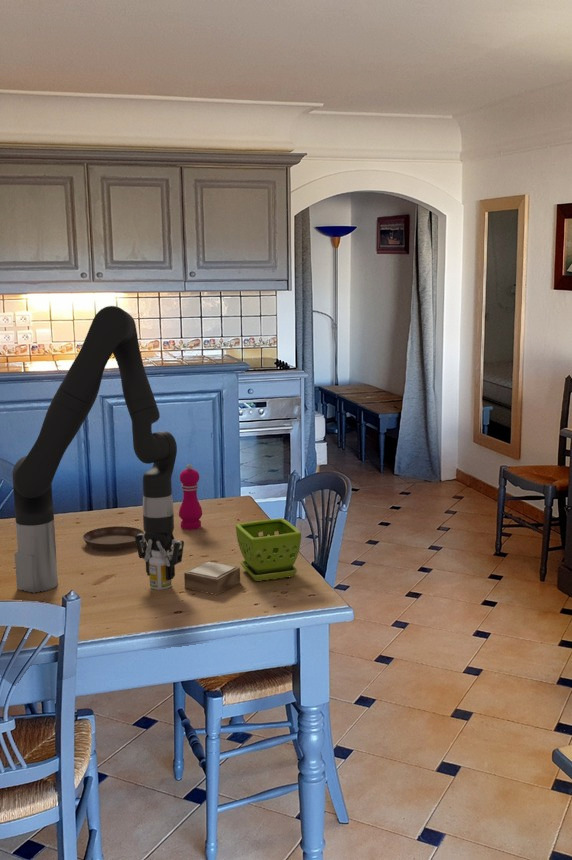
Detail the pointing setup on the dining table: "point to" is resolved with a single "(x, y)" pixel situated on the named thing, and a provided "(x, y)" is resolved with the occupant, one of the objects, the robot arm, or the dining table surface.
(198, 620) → the dining table surface
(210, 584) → the pedestal
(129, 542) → the plant saucer
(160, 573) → the supplement bottle
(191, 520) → the pepper mill
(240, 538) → the flower pot
